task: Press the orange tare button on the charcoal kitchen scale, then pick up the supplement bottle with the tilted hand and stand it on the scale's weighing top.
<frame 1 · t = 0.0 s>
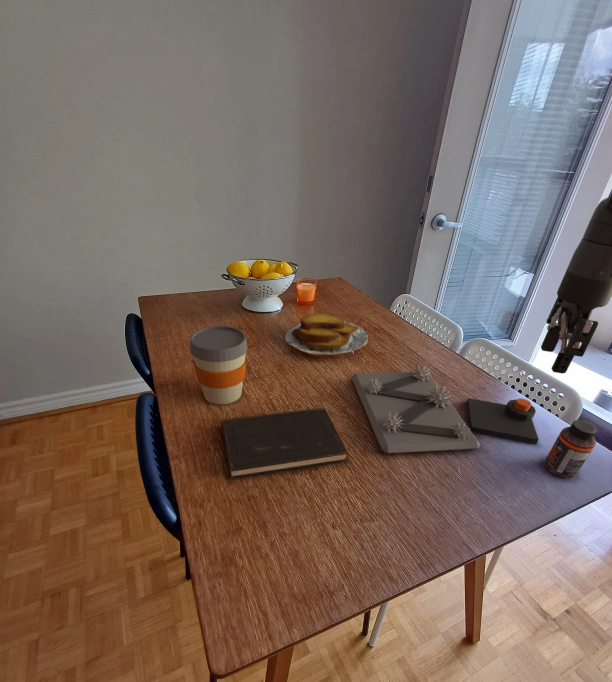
hand: (551, 360, 73), 21 cm above the table, tool pointing down, fingers open, 8 cm apart
kitchen scale: (499, 422, 93), on the table
food on plate: (326, 343, 122), on the table
decorative plate: (407, 412, 94), on the table
supplement bottle: (558, 469, 81), on the table
hardcover book: (281, 444, 83), on the table
tare button: (522, 405, 93), point 4 cm above the table, slide at 0.2 cm
reusable coffee cup: (223, 394, 96), on the table
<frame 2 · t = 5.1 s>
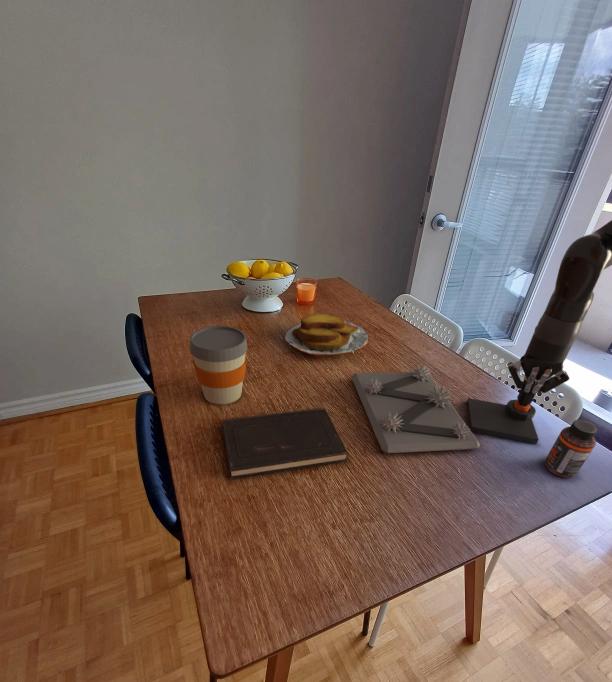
hand: (522, 403, 93), 4 cm above the table, tool pointing down, fingers closed
tare button: (521, 406, 93), point 3 cm above the table, slide at -0.3 cm, touching gripper
everything else where it was.
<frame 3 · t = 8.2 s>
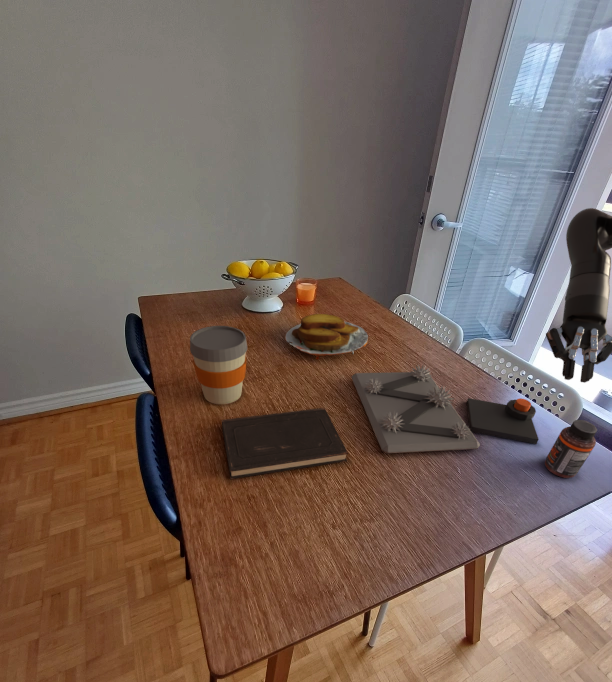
hand: (577, 379, 81), 15 cm above the table, tool tilted 45°, fingers closed
tare button: (522, 405, 93), point 4 cm above the table, slide at 0.1 cm
everything else where it was.
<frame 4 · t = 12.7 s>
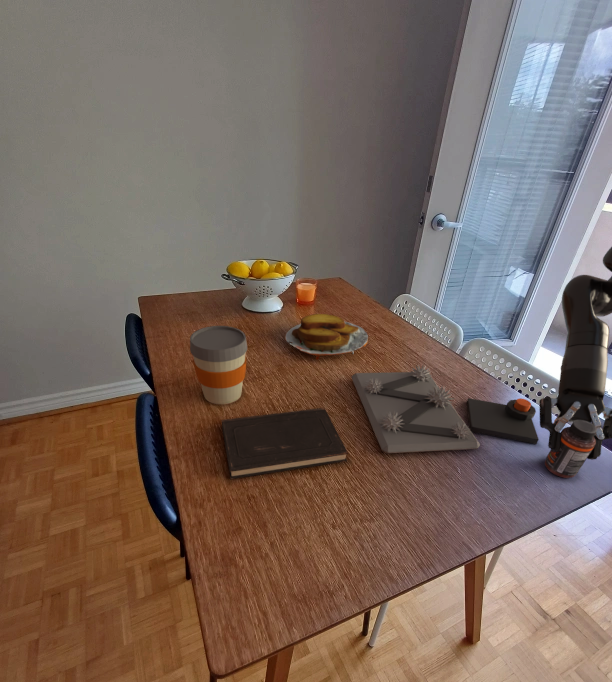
hand: (573, 455, 76), 5 cm above the table, tool tilted 45°, fingers closed on supplement bottle, 6 cm apart
supplement bottle: (558, 469, 81), on the table, touching gripper
everything else where it was.
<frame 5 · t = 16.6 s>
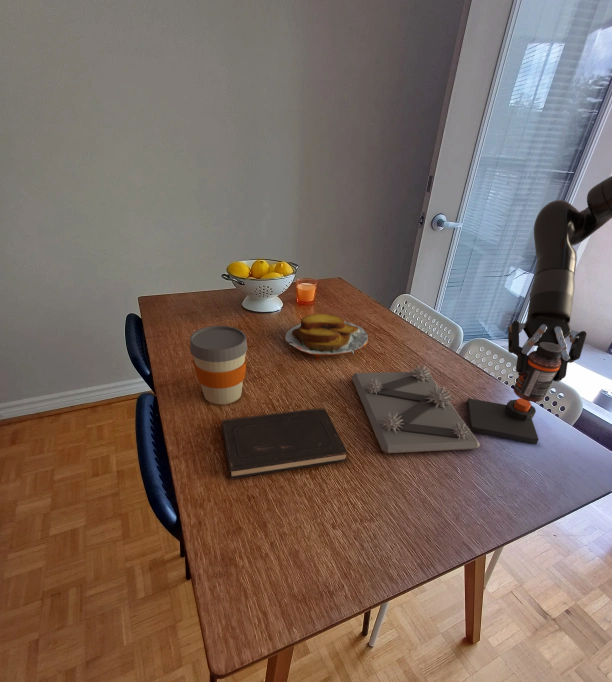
hand: (539, 377, 78), 16 cm above the table, tool tilted 45°, fingers closed on supplement bottle, 6 cm apart
supplement bottle: (527, 395, 83), point 11 cm above the table, touching gripper
everything else where it was.
when the fingers open (7 cm above the table, at t = 20.6 s): supplement bottle stays where it is, resting on kitchen scale.
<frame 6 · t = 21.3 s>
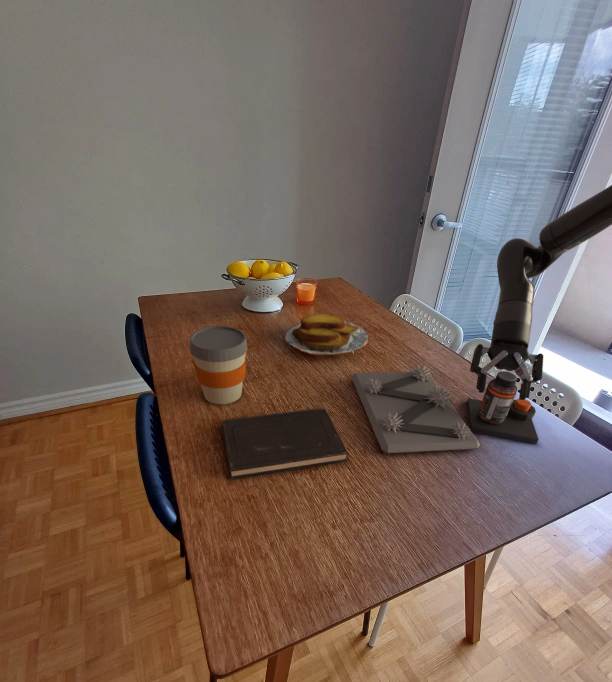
hand: (501, 395, 87), 8 cm above the table, tool tilted 45°, fingers open, 8 cm apart
supplement bottle: (490, 418, 92), point 1 cm above the table, touching kitchen scale
everything else where it was.
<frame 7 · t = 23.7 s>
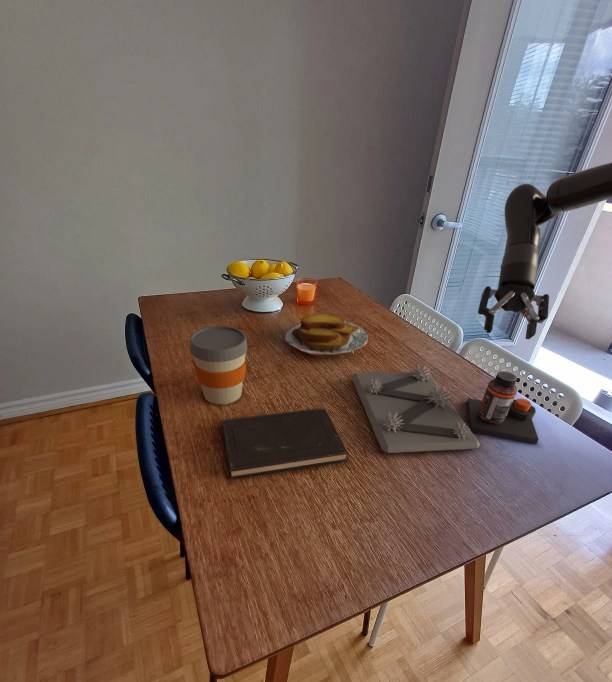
hand: (508, 335, 90), 18 cm above the table, tool tilted 45°, fingers open, 8 cm apart
nothing on the table moved.
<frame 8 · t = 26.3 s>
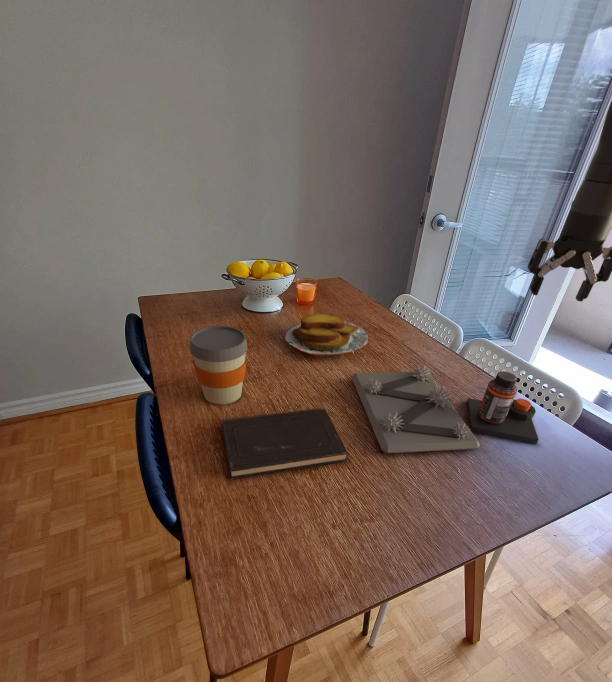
hand: (556, 297, 82), 28 cm above the table, tool pointing down, fingers open, 8 cm apart
nothing on the table moved.
at the end: tare button pushed in 0.9 cm at the most during the clip, back to where it started at the end; supplement bottle inside the target area on the kitchen scale (0.6 cm from its centre), point 1.2 cm above the kitchen scale's base; supplement bottle touching kitchen scale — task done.
